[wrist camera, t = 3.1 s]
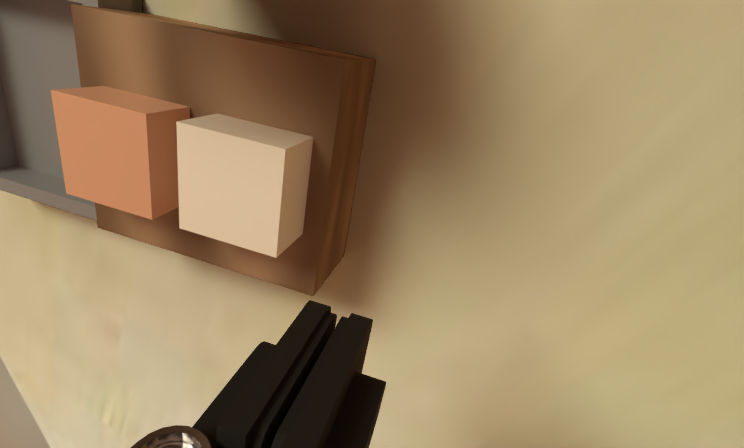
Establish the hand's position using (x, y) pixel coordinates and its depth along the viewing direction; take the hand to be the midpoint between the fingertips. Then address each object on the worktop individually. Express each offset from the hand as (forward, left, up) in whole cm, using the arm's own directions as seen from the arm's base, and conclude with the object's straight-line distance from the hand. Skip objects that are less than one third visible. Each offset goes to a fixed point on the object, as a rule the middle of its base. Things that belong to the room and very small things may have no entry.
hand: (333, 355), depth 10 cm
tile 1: (+14, 0, -10) cm, 17 cm away
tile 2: (+8, 0, -10) cm, 12 cm away
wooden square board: (+11, 0, -15) cm, 18 cm away
